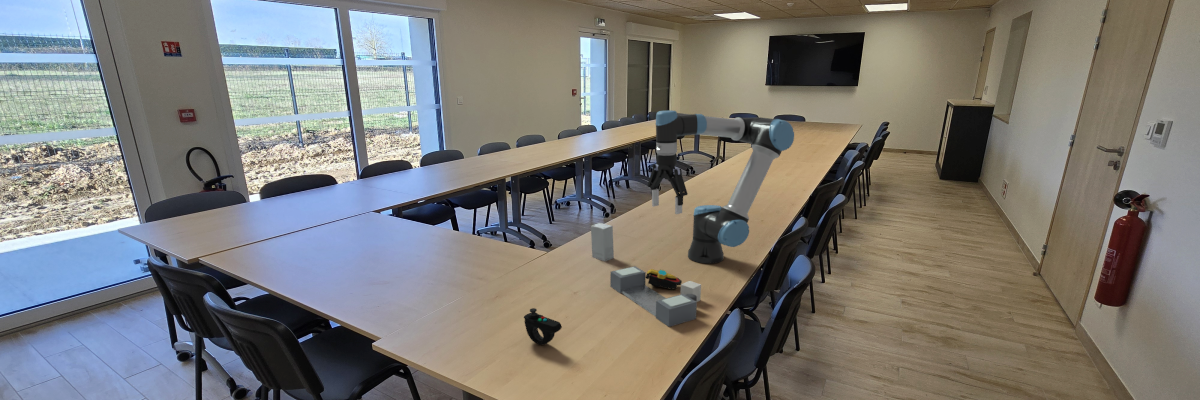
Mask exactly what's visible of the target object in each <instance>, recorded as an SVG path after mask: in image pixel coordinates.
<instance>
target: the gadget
mask: <svg viewBox="0 0 1200 400" xmlns="http://www.w3.org/2000/svg"><path fill="white" fill-rule="evenodd" d="M645 280H648V282H647V284H648V285H649V284H650V285H651V286H653V287H656V288H660V287H661V288H665V289H669V290H677V287H678V286H681V284H683V283H682V282H683V281H682V279H681V278H678V277H676V276H675V275H673V274H672V273H668V272H667V271H666V270H664V269H659V270H657V269H655V268H654V269H653V268H651V269H649V270H647V272H646V278H645Z"/></svg>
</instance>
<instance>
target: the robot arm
mask: <svg viewBox="0 0 1200 400" xmlns="http://www.w3.org/2000/svg"><path fill="white" fill-rule="evenodd" d="M697 135H702V136H710V137H711V136H712V137H721V138H731V140H732V141H737V142H738V141H739V142H743V143H747V144H750V146H751V149H752V152H751V154H750V156H749V159H748V160H747V163H746V165H745V167H744V169H743V172H742V173H741V175H740V177H739V179H738V182H737V184H736V186H735V188H734V190H733V192H732V195H731V197H730V198H729V200H728V203H727V204H726V205H724V206H723V205H722V206H720V205H715V204H712V205H711V204H710V205H709V204H707V205H698V206H696V207H695V208H694V211H693V226H692V229H693V230H692V240H691V244H690V247H689V249H688V251H687V258H688V259H689V260H690V261H693V262H696V263H699V264H718V263H721V262H722V261H723V260H724V258H725V257H724V251H723V247H722V245H724V246H727V247H730V248H735V247H738V246H741V245H743V244H744V242H745V241H746V240H747V239H748V238H749V237H748V236H749V235H750V226H749V224H748V223H749V221H750V218H749V215H748V213H749V211H750V209H751V208H752V205H753V203H754V202H755V199H756V196H757V195H758V193H759V190H760V188H761V186H762V185H763V181H764V180H765V178H766V175H767V173H768V171H769V170H770V168H771V165H772V164H773V161H774V160H775V159H778V158H780V156H781V154H782V152H784V151H786V150H788V149H790V148H791V147H792V145H793V143H794V141H795V131H794V127H793V126H792V124H791V123H790V122H789V121H787V120H785V119H781V118H767V117H761V116H760V117H739V116H738V117H737V116H736V117H735V118H725V117H717V116H707V115H704V114H702V113H694V114H693V113H692V114H691V113H690V114H689V113H681V112H677V111H676V110H670V109H669V110H659V111H657V112H656V115H655V139H656V141H655V143H656V146H655V151H656V152H655V153H656V155H655V159H656V161H655V162H656V164H654V163H653V164H652V166H651V167H652V168H651V173H650V176H649V180H648V182H647V187H649V188H650V190H651V192H650V193H651V206H652V208H653V207H658V206H659V205H660V204H659V203H660V200H659V199H660V198H659V197H660V193H659V192H660V191H659V189H660V188H659V185H660V184H661V182H662V181H663V179H665V180H667V181H668V182H669V183H670V185H671V187H672V189H673V192H674V193H675V197H674V199H675V200H674V202H675V204H674V205H675V208H674V210H675V212H674V214H675V215H680V214H683V205H684V197H686V196H688V194H689V193H688V190H687V187H686V184H685V180H684V178H683V175H682V169H681V168H676V165H677V163H678V154H677V152H678V137H683V136H697Z"/></svg>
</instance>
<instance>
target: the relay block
mask: <svg viewBox="0 0 1200 400" xmlns="http://www.w3.org/2000/svg"><path fill="white" fill-rule="evenodd" d="M681 294H684V295H686V294H694V295H696V296H697V303H698V302H700V301H701V295H702V284H701V283H699V282H698V283H697V282H695V281H692V280H688V281H686V282H683V283H681V285H680V294H679V295H681Z"/></svg>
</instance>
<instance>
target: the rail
mask: <svg viewBox="0 0 1200 400" xmlns="http://www.w3.org/2000/svg"><path fill="white" fill-rule="evenodd" d="M620 294H621V295H624V296H625V297H626V298H628V299H629V300H631V301H632V302H634V303H635V304H637V306H639V307H641V308H642V309H644V310H645V311H647V312H648V313H650V314H651V315H652V316H654V317H655V318H656V301H658V300H662V299H666V296H664V295H662V294H660V293H659V292H657V291H655V290H654V289H652V288H651V287H649V286H647V285H646V284H645V285H640V286H636V287H632V288H628V289H624V290H621V293H620Z"/></svg>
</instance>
